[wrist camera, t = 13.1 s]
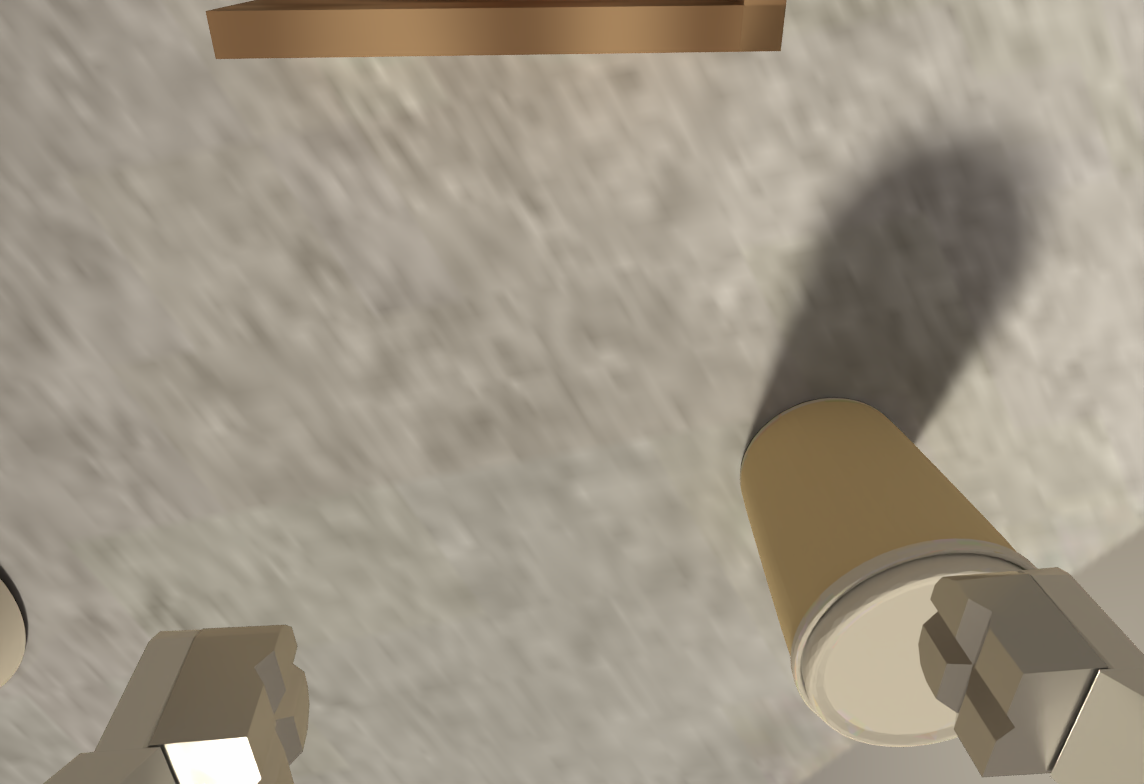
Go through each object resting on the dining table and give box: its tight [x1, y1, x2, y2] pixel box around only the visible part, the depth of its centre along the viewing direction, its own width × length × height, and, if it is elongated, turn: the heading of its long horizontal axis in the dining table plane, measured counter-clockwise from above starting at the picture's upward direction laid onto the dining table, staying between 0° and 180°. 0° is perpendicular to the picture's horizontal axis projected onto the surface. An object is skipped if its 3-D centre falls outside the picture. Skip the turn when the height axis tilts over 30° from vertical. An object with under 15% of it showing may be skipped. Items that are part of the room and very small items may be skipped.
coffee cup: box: [740, 398, 1037, 747], centre depth 32 cm, size 9×9×12 cm
